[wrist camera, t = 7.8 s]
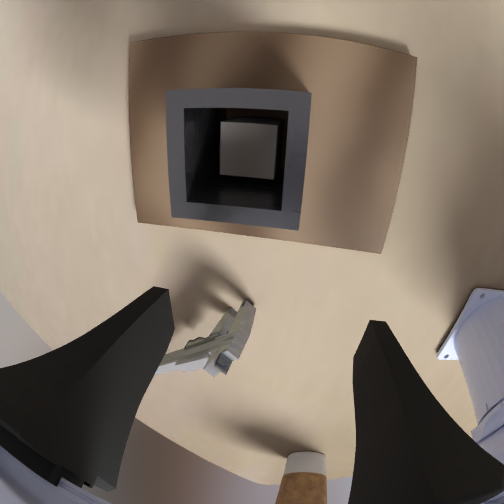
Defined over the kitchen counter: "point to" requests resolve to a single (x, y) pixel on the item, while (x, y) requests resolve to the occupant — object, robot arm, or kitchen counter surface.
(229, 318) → the caliper
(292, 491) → the coffee cup
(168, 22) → the kitchen counter surface
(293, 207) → the steel collar
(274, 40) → the post base
